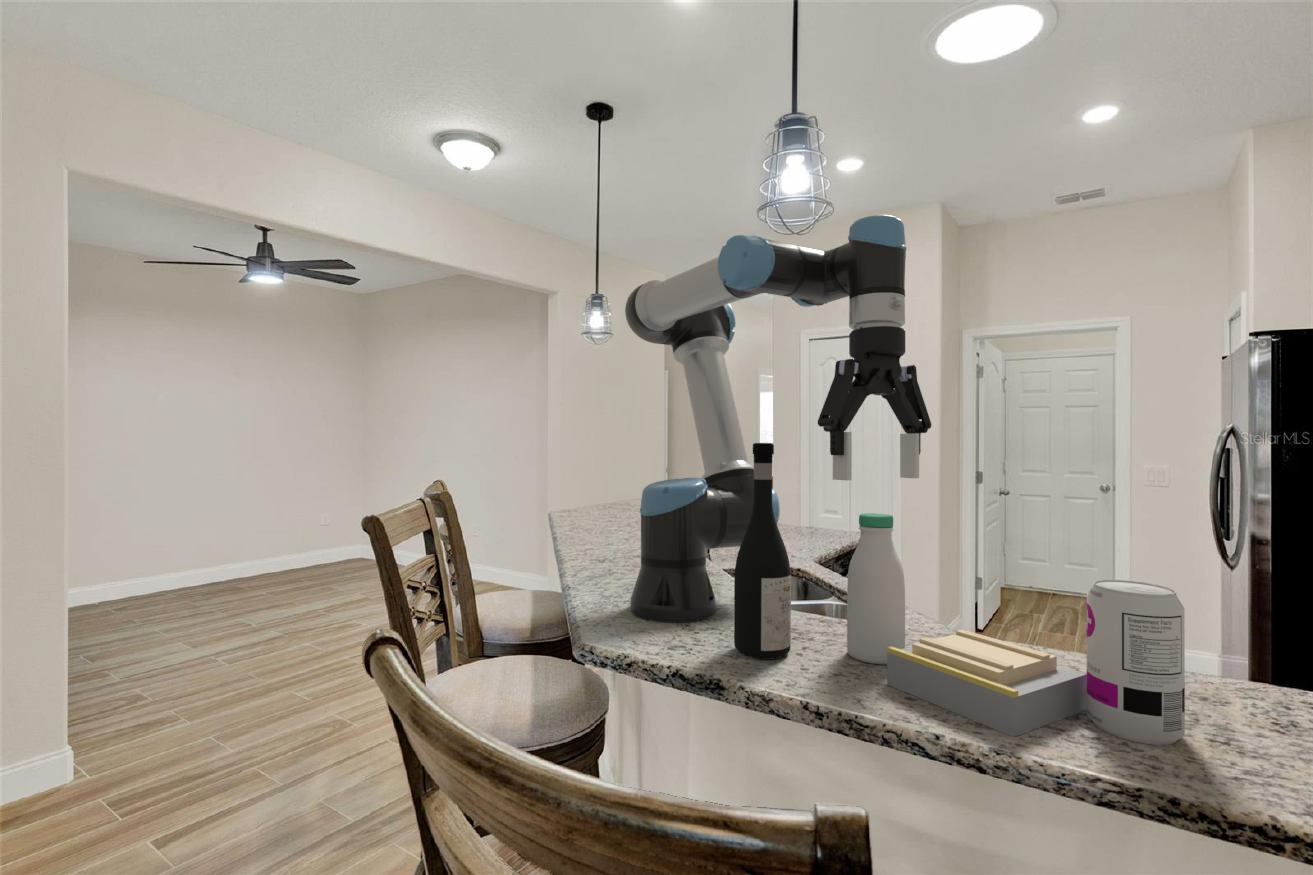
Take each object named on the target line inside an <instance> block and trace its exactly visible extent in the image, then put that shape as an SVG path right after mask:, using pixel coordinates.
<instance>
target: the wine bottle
mask: <svg viewBox="0 0 1313 875" xmlns="http://www.w3.org/2000/svg"><path fill="white" fill-rule="evenodd" d="M774 452H775V444H774V443H772V442H754V443H753V444H752V455H753V467H754V504H753V511H752V516H751V519H750V523H749V525H748V528H747V531H746V533H745V536H744V538H743V541H742V543H741V546H739V549H738V552H737V555H736V556H737V557H736V561H735V568H734V583H733V584H734V586H733V587H734V595H733V596H734V597H733V598H734V600H733V602H734V605H733V606H734V608H733V609H734V610H733V611H734V614H733V616H734V618H733V620H734V621H733V623H734V624H733V630H734V631H733V632H734V633H733V637H734V638H733V639H734V641H733V643H734V647H735V649H736V650H737V651H738V653H739V654H741V655H743V656H746V657H749V658H752V659H758V660H772V659H773V660H775V659H779V658H782V657H784V656H786V655H787V654H788V653H789V652H791V644H792V643H791V642H792V640H791V639H792V635H791V633H792V628H791V627H792V626H791V624H792V620H791V619H792V617H791V614H792V609H791V608H792V572H791V571H792V570H791V566H790V565H791V564H790V560H789V556H788V552H787V548H786V545H785V543H784V539H783V538H782V535H781V532H780V530H779V527H778V524H776V520H775V517H774V512H773V505H772V489H773V469H774V466H773V461H774V460H773V458H774V455H775V453H774Z"/></svg>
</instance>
